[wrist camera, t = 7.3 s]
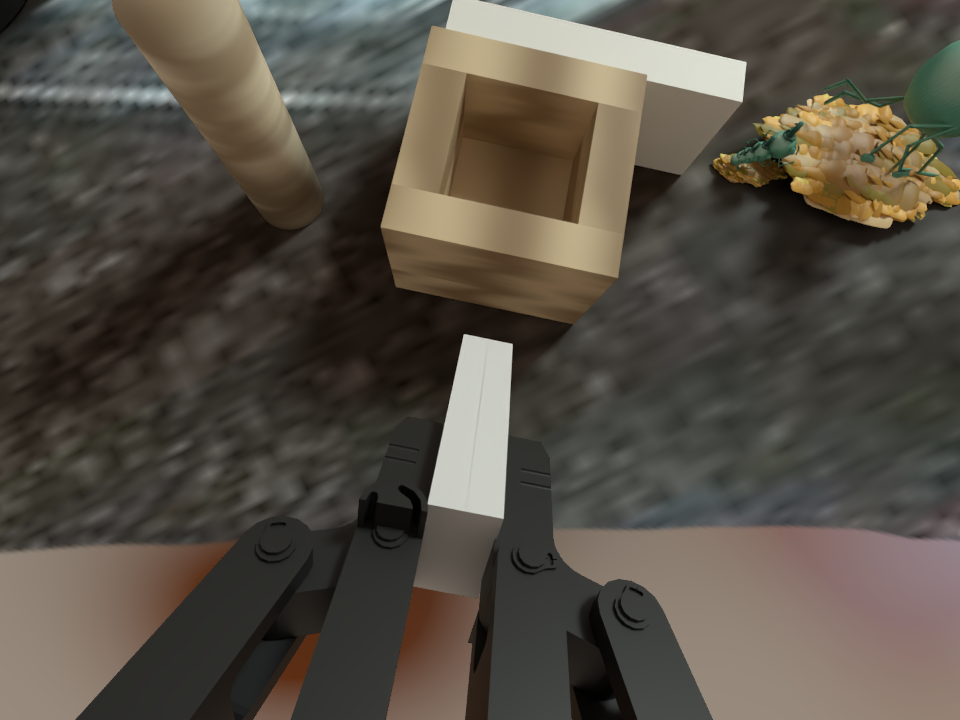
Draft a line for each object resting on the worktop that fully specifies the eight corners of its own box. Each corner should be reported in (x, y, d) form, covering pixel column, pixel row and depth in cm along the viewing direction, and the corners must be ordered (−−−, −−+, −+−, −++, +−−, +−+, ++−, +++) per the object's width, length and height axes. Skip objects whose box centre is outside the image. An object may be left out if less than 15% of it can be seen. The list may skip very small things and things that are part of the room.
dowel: (249, 222, 31) (95, 31, 17) (267, 164, 32) (134, -62, 18) (314, 235, 31) (213, 57, 17) (331, 177, 32) (246, -37, 18)
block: (395, 287, 31) (380, 227, 23) (434, 129, 33) (432, 25, 25) (573, 324, 31) (617, 277, 23) (599, 165, 33) (647, 74, 26)
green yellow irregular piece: (715, 76, 36) (937, -178, 21) (932, 150, 38) (1259, -33, 24) (702, 197, 34) (938, 5, 19) (931, 267, 36) (1290, 143, 22)
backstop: (443, 122, 33) (444, 34, 26) (451, 89, 34) (454, -6, 27) (681, 175, 34) (742, 102, 27) (685, 142, 34) (746, 62, 27)
